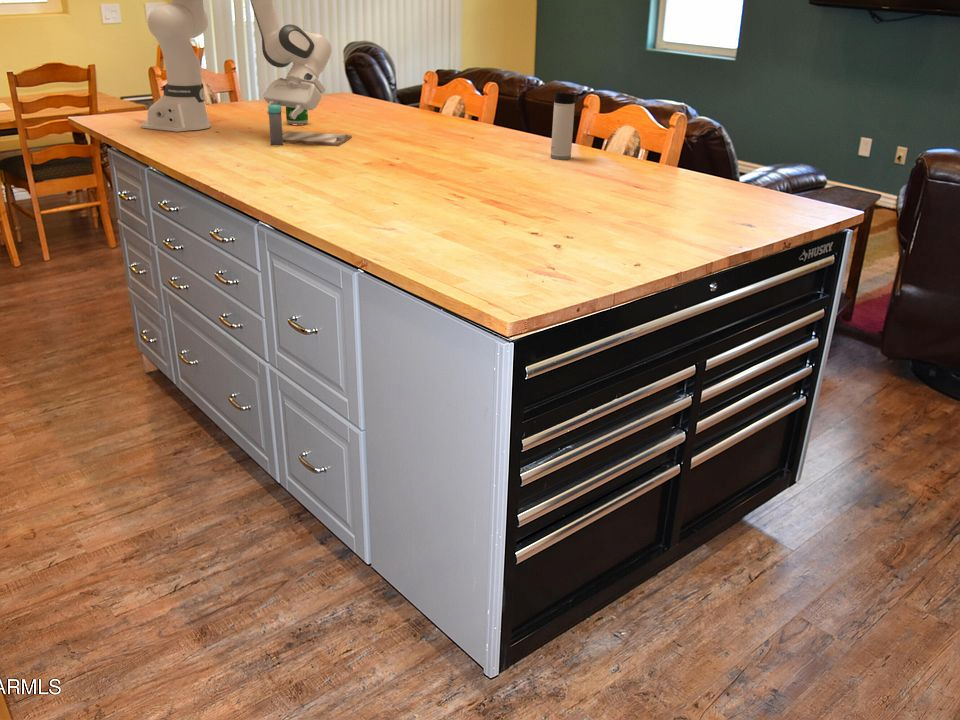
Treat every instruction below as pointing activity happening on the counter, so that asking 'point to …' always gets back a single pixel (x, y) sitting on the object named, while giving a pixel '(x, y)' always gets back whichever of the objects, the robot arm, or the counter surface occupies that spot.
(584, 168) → the counter surface
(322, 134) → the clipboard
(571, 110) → the travel mug
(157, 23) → the robot arm
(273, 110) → the marker
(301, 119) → the soda can
